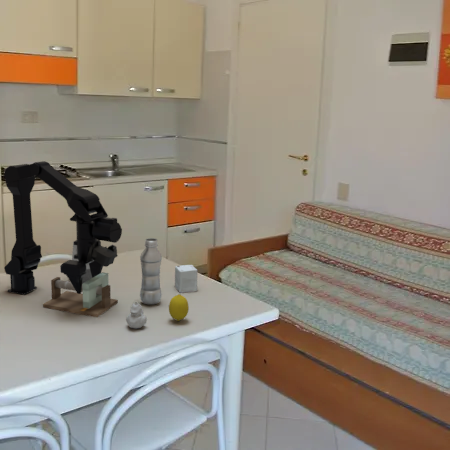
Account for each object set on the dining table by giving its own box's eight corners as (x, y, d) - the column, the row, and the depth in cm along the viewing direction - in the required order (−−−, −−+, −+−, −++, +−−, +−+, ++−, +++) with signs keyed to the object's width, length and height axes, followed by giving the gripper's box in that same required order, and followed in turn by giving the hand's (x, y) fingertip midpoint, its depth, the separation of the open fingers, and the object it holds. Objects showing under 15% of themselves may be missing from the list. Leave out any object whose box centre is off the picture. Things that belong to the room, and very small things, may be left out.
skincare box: (197, 291, 184) (198, 269, 182) (179, 293, 181) (180, 271, 180) (191, 285, 189) (192, 264, 187) (174, 286, 187) (174, 265, 185)
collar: (82, 307, 161) (82, 283, 159) (102, 294, 171) (102, 272, 170) (89, 308, 160) (88, 284, 159) (108, 295, 171) (108, 273, 169)
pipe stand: (42, 307, 165) (42, 284, 163) (66, 293, 176) (65, 272, 174) (97, 317, 160) (96, 294, 158) (117, 302, 171) (117, 281, 169)
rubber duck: (122, 329, 152) (122, 302, 150) (132, 320, 159) (132, 293, 157) (141, 332, 151) (141, 304, 149) (150, 323, 157) (150, 296, 156)
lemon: (180, 326, 156) (181, 299, 154) (164, 321, 159) (165, 295, 157) (192, 320, 161) (192, 293, 159) (176, 315, 163) (177, 289, 161)
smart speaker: (106, 280, 190) (106, 240, 186) (86, 287, 182) (85, 246, 179) (86, 274, 195) (85, 235, 191) (65, 281, 187) (64, 240, 184)
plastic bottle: (165, 301, 174) (166, 238, 169) (153, 308, 168) (154, 244, 163) (147, 297, 176) (148, 235, 171) (135, 304, 170) (135, 240, 165)
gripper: (94, 248, 151) (95, 303, 155) (127, 233, 168) (127, 282, 172) (58, 243, 154) (60, 297, 158) (94, 228, 172) (95, 277, 175)
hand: (87, 288), depth 166 cm, fingers open, 9 cm apart
